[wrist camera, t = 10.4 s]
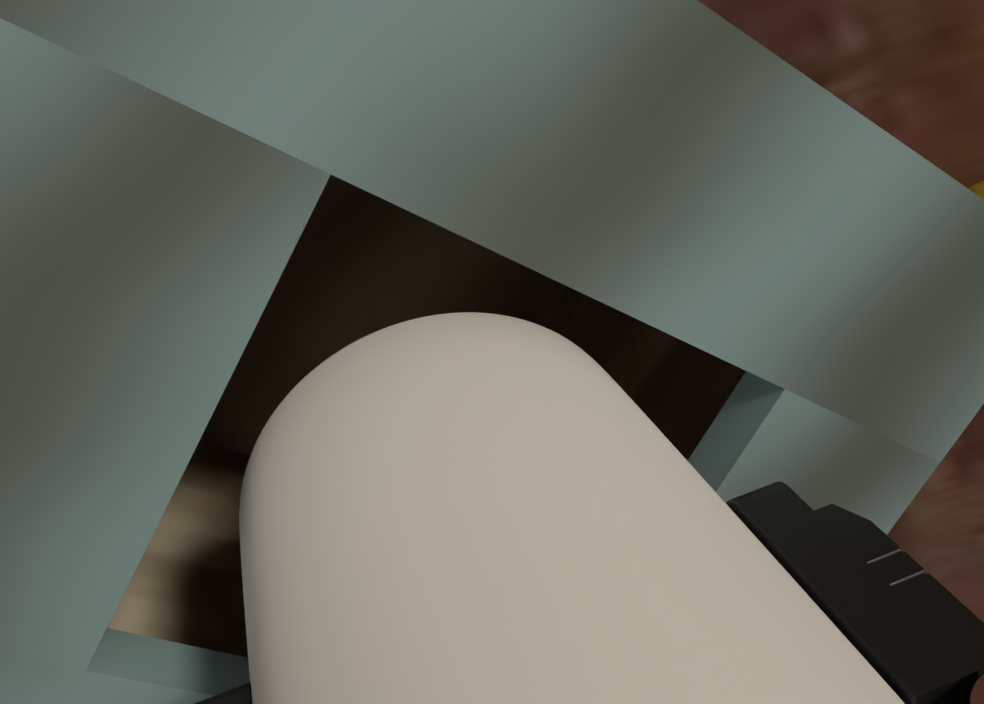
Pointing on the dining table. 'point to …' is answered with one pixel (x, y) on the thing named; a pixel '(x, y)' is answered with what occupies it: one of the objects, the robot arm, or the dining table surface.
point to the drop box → (426, 274)
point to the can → (508, 542)
